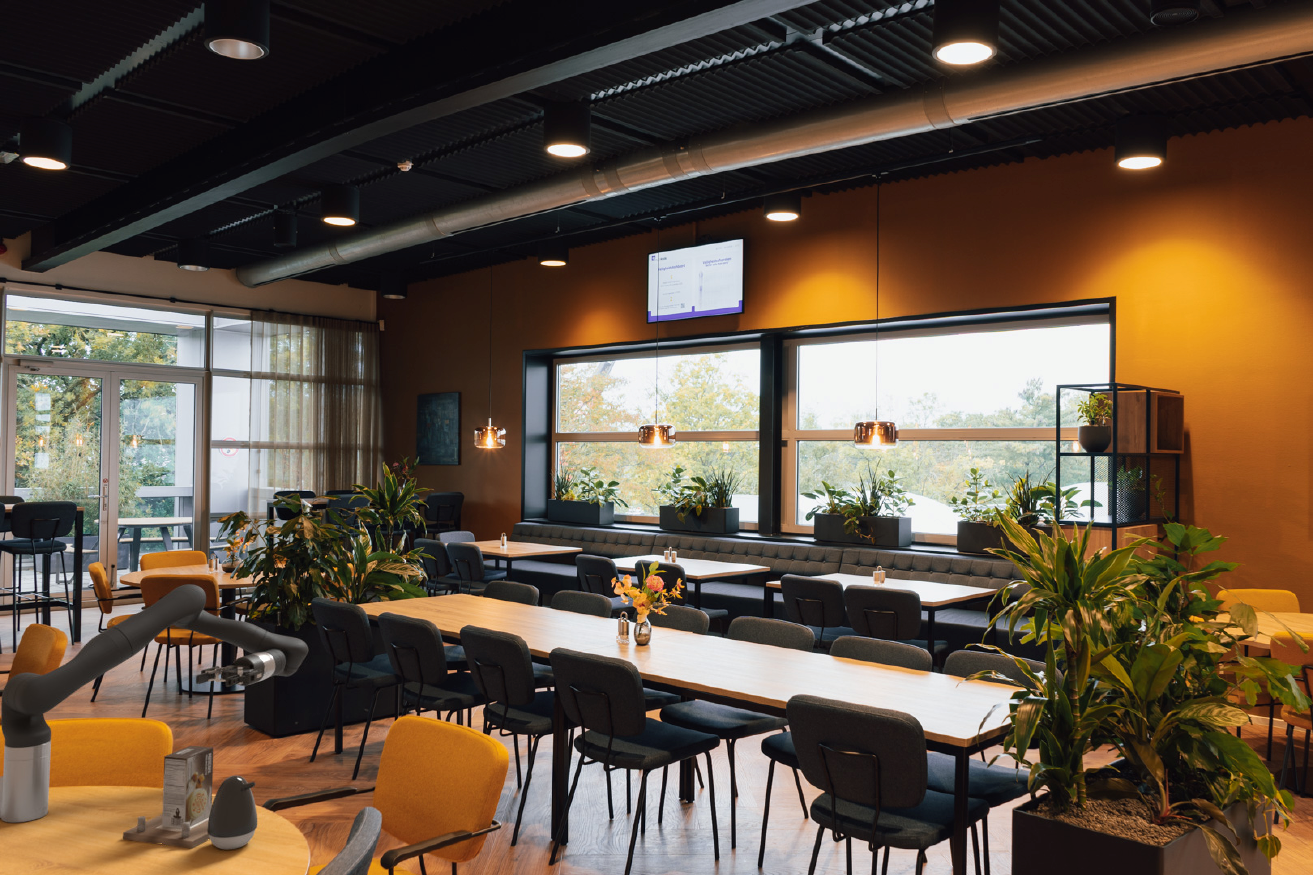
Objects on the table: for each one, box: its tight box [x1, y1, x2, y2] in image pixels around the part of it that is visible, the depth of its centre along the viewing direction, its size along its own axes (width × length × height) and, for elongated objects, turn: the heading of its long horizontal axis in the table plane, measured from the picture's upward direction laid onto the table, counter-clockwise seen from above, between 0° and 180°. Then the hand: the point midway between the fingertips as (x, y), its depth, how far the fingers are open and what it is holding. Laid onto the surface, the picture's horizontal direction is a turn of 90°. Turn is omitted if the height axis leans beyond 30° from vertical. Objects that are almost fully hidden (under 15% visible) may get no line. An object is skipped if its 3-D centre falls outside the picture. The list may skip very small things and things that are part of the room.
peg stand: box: [122, 813, 210, 849], centre depth 222 cm, size 18×18×4 cm
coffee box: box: [162, 745, 214, 829], centre depth 223 cm, size 9×6×16 cm
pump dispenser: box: [207, 775, 258, 851], centre depth 214 cm, size 10×10×15 cm
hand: (212, 681), depth 241 cm, fingers open, 8 cm apart
